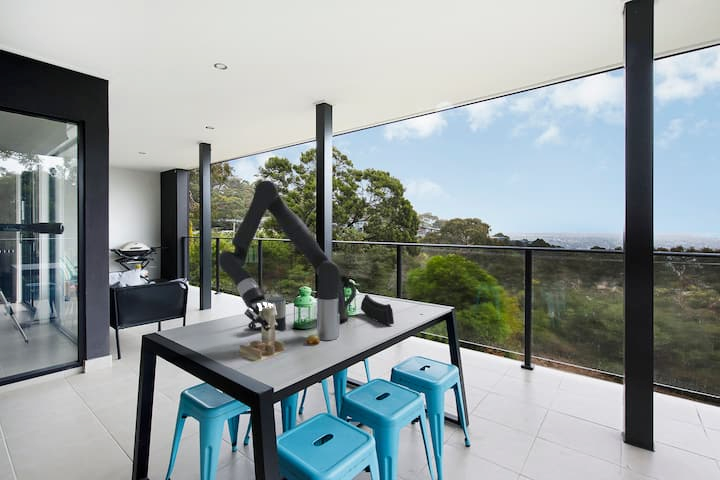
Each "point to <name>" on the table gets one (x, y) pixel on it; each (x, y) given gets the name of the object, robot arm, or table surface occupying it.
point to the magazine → (377, 310)
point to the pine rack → (257, 354)
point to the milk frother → (280, 310)
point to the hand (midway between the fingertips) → (272, 328)
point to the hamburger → (313, 340)
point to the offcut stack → (259, 346)
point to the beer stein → (341, 301)
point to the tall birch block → (269, 316)
